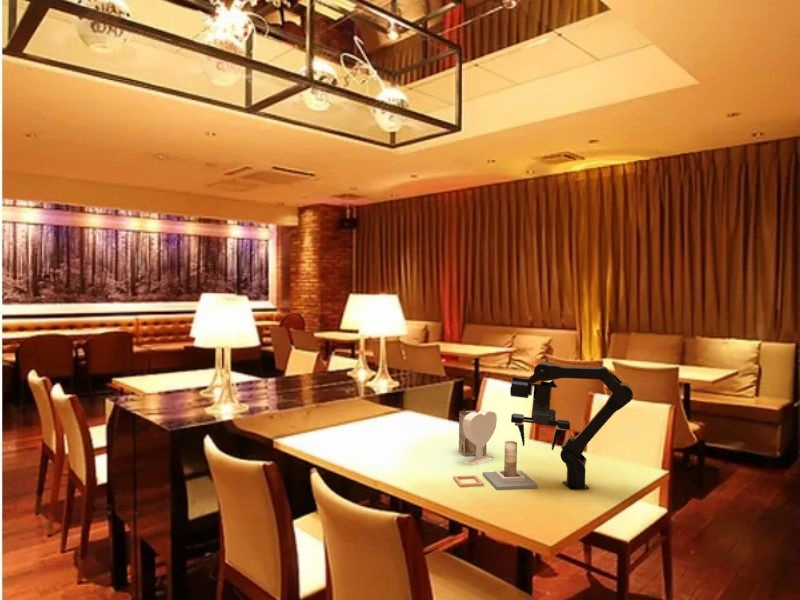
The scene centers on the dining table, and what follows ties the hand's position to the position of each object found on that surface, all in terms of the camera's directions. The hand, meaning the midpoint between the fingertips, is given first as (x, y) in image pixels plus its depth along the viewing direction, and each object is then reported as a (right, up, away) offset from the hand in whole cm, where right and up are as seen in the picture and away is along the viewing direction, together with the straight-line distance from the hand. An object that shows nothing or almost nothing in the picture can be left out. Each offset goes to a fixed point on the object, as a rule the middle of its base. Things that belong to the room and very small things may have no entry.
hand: (537, 448), depth 189 cm
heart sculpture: (-16, -11, +24) cm, 31 cm away
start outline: (-23, -11, +1) cm, 25 cm away
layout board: (-9, -12, +2) cm, 15 cm away
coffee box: (-17, -11, +32) cm, 38 cm away
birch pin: (-9, -11, +2) cm, 14 cm away
